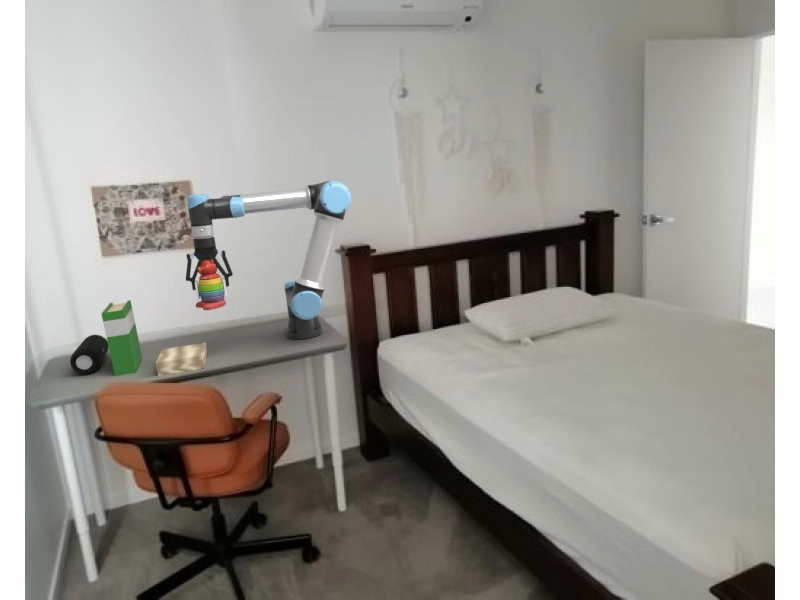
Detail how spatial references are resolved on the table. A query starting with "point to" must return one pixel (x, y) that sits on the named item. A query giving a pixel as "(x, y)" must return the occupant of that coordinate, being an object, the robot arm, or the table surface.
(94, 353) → the portable speaker
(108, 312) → the hardback book
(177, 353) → the wooden block
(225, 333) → the table surface
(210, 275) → the stacking bear
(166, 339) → the table surface
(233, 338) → the table surface
